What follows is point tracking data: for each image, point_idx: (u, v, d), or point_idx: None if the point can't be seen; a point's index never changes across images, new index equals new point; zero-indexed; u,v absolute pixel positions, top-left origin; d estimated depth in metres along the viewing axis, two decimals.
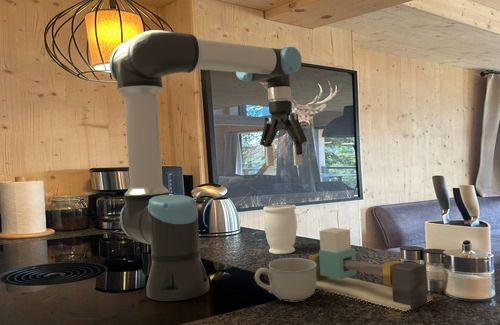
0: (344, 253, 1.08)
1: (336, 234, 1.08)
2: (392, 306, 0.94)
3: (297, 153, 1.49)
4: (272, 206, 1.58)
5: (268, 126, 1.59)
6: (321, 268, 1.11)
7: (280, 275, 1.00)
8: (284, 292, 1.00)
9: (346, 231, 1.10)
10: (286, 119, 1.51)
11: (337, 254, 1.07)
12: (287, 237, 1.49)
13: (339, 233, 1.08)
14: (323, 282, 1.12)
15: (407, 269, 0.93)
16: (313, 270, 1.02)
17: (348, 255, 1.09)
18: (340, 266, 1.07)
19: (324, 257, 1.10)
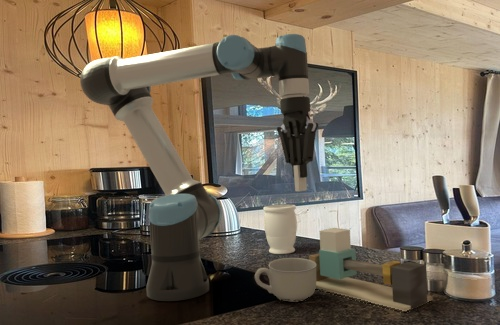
0: (344, 253, 1.08)
1: (336, 234, 1.08)
2: (392, 306, 0.94)
3: (301, 176, 1.18)
4: (272, 206, 1.58)
5: (285, 135, 1.22)
6: (321, 268, 1.11)
7: (280, 275, 1.00)
8: (284, 292, 1.00)
9: (346, 231, 1.10)
10: (302, 122, 1.16)
11: (337, 254, 1.07)
12: (287, 237, 1.49)
13: (339, 233, 1.08)
14: (323, 282, 1.12)
15: (407, 269, 0.93)
16: (313, 270, 1.02)
17: (348, 255, 1.09)
18: (340, 266, 1.07)
19: (324, 257, 1.10)
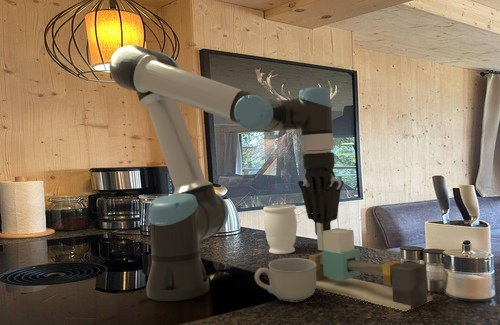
0: (348, 254, 1.07)
1: (340, 234, 1.07)
2: (392, 306, 0.94)
3: None
4: (272, 206, 1.58)
5: (307, 190, 1.17)
6: (324, 269, 1.10)
7: (280, 275, 1.00)
8: (284, 292, 1.00)
9: (350, 231, 1.09)
10: (326, 179, 1.11)
11: (341, 255, 1.06)
12: (287, 237, 1.49)
13: (343, 233, 1.08)
14: (323, 282, 1.12)
15: (407, 269, 0.93)
16: (313, 270, 1.02)
17: (352, 256, 1.08)
18: (344, 267, 1.06)
19: (327, 258, 1.09)
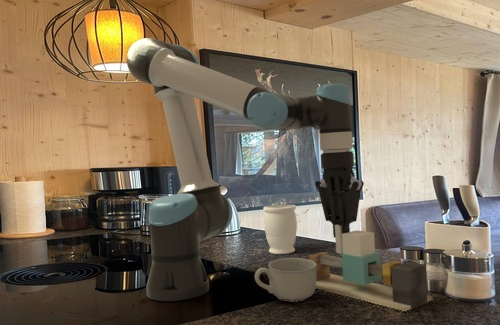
0: (369, 257, 1.02)
1: (360, 237, 1.02)
2: (392, 306, 0.94)
3: None
4: (272, 206, 1.58)
5: (325, 190, 1.12)
6: (344, 273, 1.06)
7: (280, 275, 1.00)
8: (284, 292, 1.00)
9: (370, 234, 1.05)
10: (346, 180, 1.06)
11: (362, 258, 1.01)
12: (287, 237, 1.49)
13: (363, 236, 1.03)
14: (323, 282, 1.12)
15: (407, 269, 0.93)
16: (313, 270, 1.02)
17: (373, 259, 1.03)
18: (365, 271, 1.02)
19: (347, 261, 1.05)
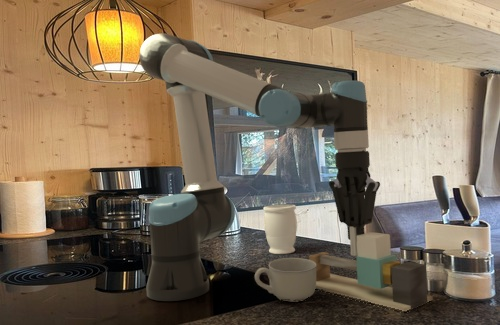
0: (385, 260, 0.99)
1: (376, 239, 0.99)
2: (392, 306, 0.94)
3: None
4: (272, 206, 1.58)
5: (339, 191, 1.09)
6: (359, 276, 1.02)
7: (280, 275, 1.00)
8: (284, 292, 1.00)
9: (386, 236, 1.01)
10: (361, 180, 1.03)
11: (378, 261, 0.98)
12: (287, 237, 1.49)
13: (379, 238, 1.00)
14: (323, 282, 1.12)
15: (407, 269, 0.93)
16: (313, 270, 1.02)
17: None
18: (381, 274, 0.98)
19: (362, 264, 1.01)
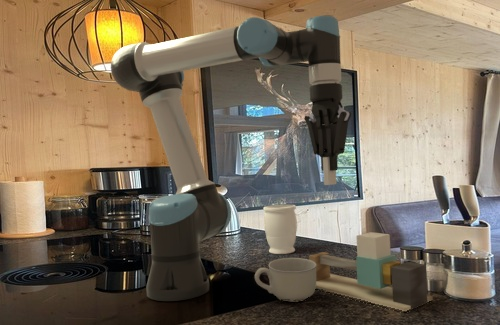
0: (385, 260, 0.99)
1: (376, 239, 0.99)
2: (392, 306, 0.94)
3: (331, 168, 1.09)
4: (272, 206, 1.58)
5: (313, 125, 1.13)
6: (358, 276, 1.02)
7: (280, 275, 1.00)
8: (284, 292, 1.00)
9: (386, 236, 1.01)
10: (334, 111, 1.07)
11: (377, 261, 0.98)
12: (287, 237, 1.49)
13: (379, 238, 1.00)
14: (323, 282, 1.12)
15: (407, 269, 0.93)
16: (313, 270, 1.02)
17: None
18: (381, 274, 0.98)
19: (362, 264, 1.01)
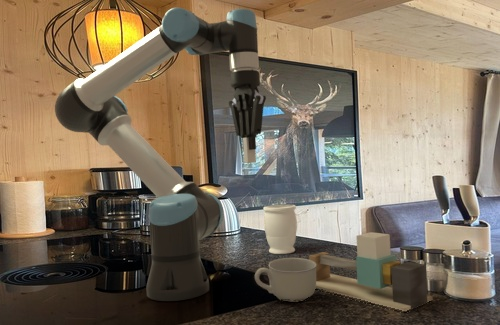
0: (385, 260, 0.99)
1: (376, 239, 0.99)
2: (392, 306, 0.94)
3: (249, 148, 1.21)
4: (272, 206, 1.58)
5: (236, 109, 1.25)
6: (358, 276, 1.02)
7: (280, 275, 1.00)
8: (284, 292, 1.00)
9: (386, 236, 1.01)
10: (250, 95, 1.18)
11: (377, 261, 0.98)
12: (287, 237, 1.49)
13: (379, 238, 1.00)
14: (323, 282, 1.12)
15: (407, 269, 0.93)
16: (313, 270, 1.02)
17: None
18: (381, 274, 0.98)
19: (362, 264, 1.01)
